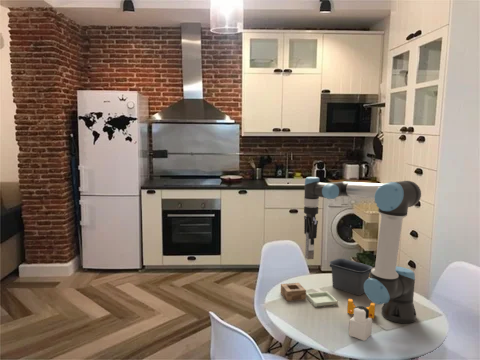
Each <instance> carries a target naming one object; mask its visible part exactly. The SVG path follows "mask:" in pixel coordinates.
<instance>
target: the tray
mask: <svg viewBox="0 0 480 360" xmlns="http://www.w3.org/2000/svg"><path fill="white" fill-rule="evenodd" d="M306 299H307V300H308V301H309V302H310V304H311V303H312V304H311V305H312V306H313V307H314V308H323V307H324V306H325V307H333V305H335V306H338V303H339V300H337V299H336V298H335V297H334V296H333V295H332V294H331V293H330V292H329V291H327V290H326V291H317V292H306Z"/></svg>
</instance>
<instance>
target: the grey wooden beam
mask: <svg viewBox="0 0 480 360" xmlns="http://www.w3.org/2000/svg"><path fill="white" fill-rule="evenodd" d="M309 238H310V232H306V235H305V252H304V253H305V254H304V255H305V256H304V258H305V259H307V260H314V255H315V249H314V250H310V251H309Z"/></svg>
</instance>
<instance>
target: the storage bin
mask: <svg viewBox="0 0 480 360" xmlns="http://www.w3.org/2000/svg"><path fill="white" fill-rule="evenodd" d="M328 263H329V267H330V268H331V277H332V278H331V279H332V281H331V283H332V288H336V289H338V290H339V291H340V290H341V291H343V292H347V293H350V294H353V295H354V296H361V295H363V294H365V291H364V283H365V281H366V280H367V279H368V278H370V273H371V269H372V268H374V267H373V266H371V265H368V264H367V263H365V264H364V263H361V262H357V261H355V260H350V259H345V258H341V257H339V258H336V259H334V260H330V261H329V262H328Z"/></svg>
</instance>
